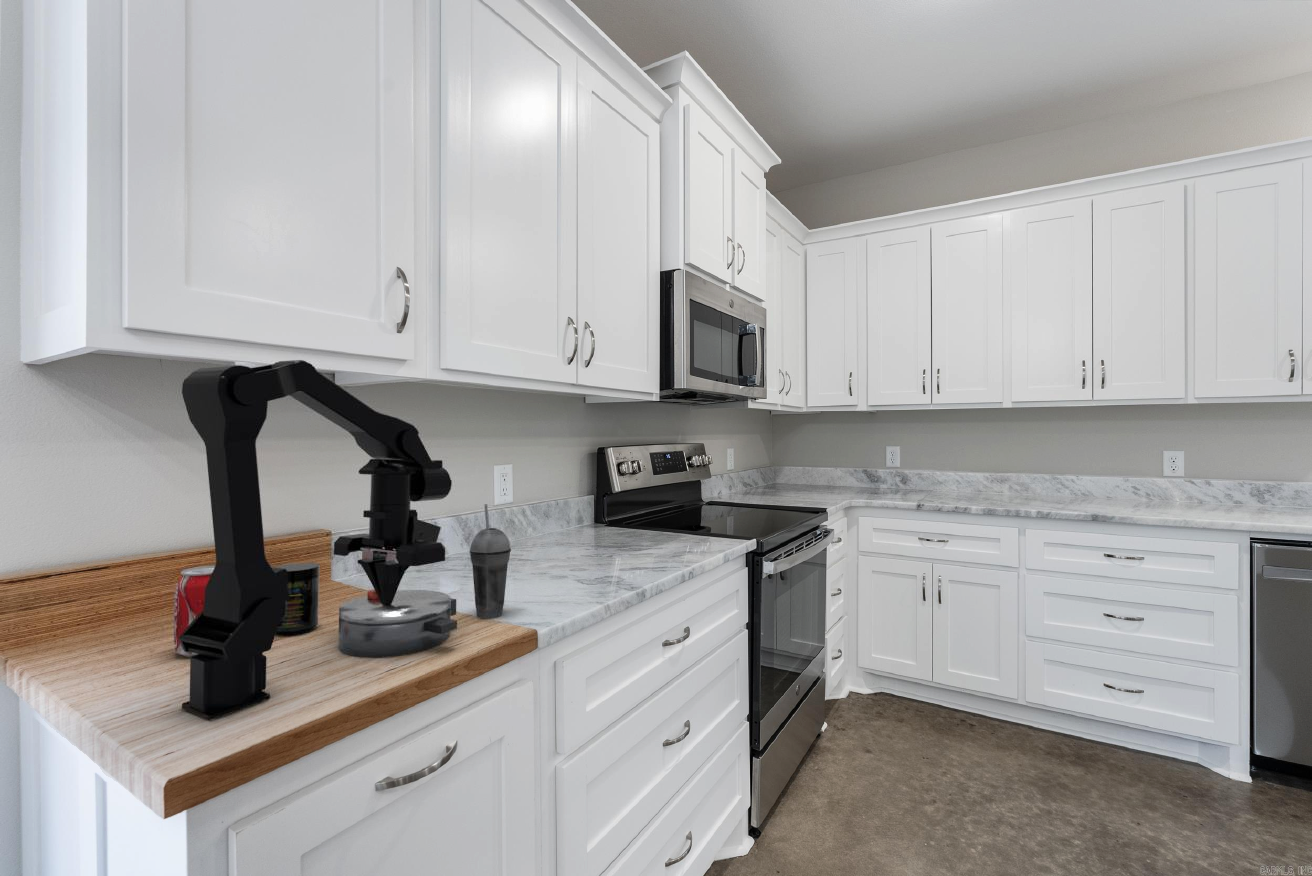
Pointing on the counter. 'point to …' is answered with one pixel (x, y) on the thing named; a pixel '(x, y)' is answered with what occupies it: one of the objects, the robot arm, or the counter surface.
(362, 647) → the pressure cooker pot
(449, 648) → the counter surface
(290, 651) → the counter surface
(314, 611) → the supplement container
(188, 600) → the soda can
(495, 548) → the beverage cup
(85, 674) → the counter surface
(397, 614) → the pressure cooker lid
